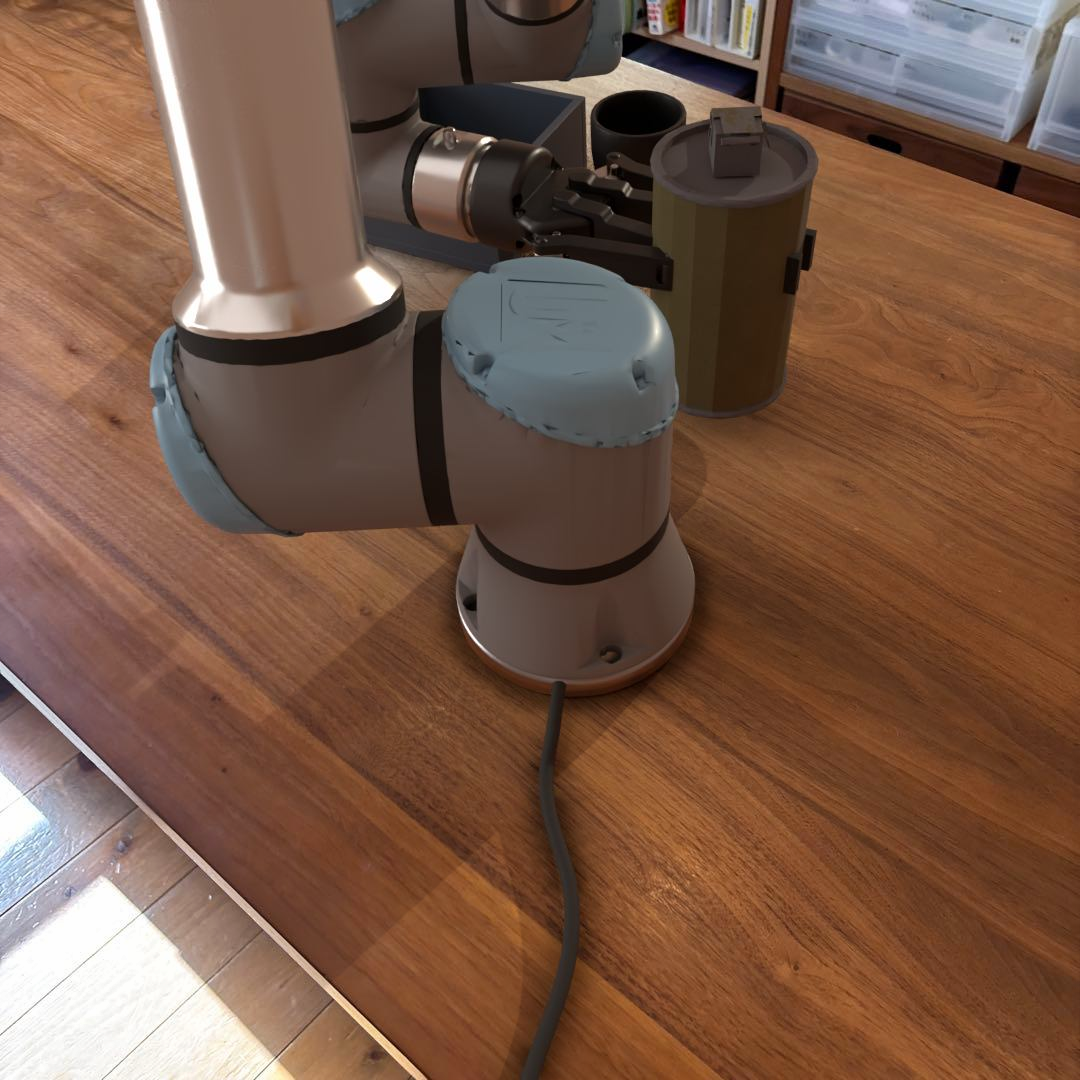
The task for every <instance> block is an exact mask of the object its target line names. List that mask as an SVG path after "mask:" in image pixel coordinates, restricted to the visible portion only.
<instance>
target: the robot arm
mask: <svg viewBox="0 0 1080 1080" xmlns="http://www.w3.org/2000/svg"><path fill="white" fill-rule="evenodd" d="M132 2H133V7H134V10H135V15H136V16H135V17H136V21H137V24H138V28H139V33H140V37H141V42H142V47H143V51H144V55H145V59H146V64H147V68H148V72H149V73H148V74H149V76H150V81H151V86H152V90H153V94H154V99H155V102H156V107H157V108H156V109H157V111H158V116H159V120H160V125H161V129H162V133H163V138H164V143H165V147H166V150H167V151H166V152H167V155H168V160H169V164H170V168H171V172H172V177H173V181H174V186H175V191H176V194H177V199H178V203H179V204H178V205H179V207H180V212H181V217H182V221H183V225H184V229H185V234H186V238H187V242H188V247H189V251H190V255H191V260H192V265H193V267H192V268H193V269H192V273H191V274H190V275H189V277H188V278H187V280H186V281H185V283H184V284H183V286H181V289H180V290H179V292H177V294H176V295H175V297H174V299H172V302H171V312H172V313H171V314H172V317H173V322H174V324H173V325H172V326H170V327H168V328H167V329H165V330H164V331H163V332H162V334H161V335H160V337H159V338H158V340H157V341H156V343H155V345H154V347H153V350H152V353H151V359H150V365H149V390H150V392H151V394H152V396H153V397H154V402H155V405H154V406H153V408H152V409H151V413H152V414H151V415H152V420H153V426H154V430H155V433H156V437H157V441H158V445H159V448H160V451H161V453H162V456H163V460H164V462H165V465H166V467H167V469H168V472H169V474H170V475H171V478H172V480H173V482H174V484H175V486H176V488H177V490H178V492H179V494H180V495H181V496H182V498H183V499H184V501H185V502H186V504H187V505H188V506H189V507H190V508H191V509H192V511H193V512H194V513H195V514H196V516H198V517H199V518H200V519H202V520H203V521H204V522H206V523H207V524H209V525H211V526H213V527H215V528H218V529H219V530H221V531H222V532H225V533H230V534H236V535H271V534H272V535H276V536H279V537H282V538H297V537H303V536H304V535H305V534H312V533H333V532H351V531H354V532H355V531H371V530H372V531H373V530H390V529H411V528H413V529H414V528H430V527H432V528H434V527H449V526H466V525H467V526H468V525H469V526H470V525H472V527H471V529H470V532H469V536H468V539H467V542H466V545H465V548H464V551H463V555H462V558H461V561H460V563H459V567H458V571H457V575H456V582H455V599H456V605H457V611H458V616H459V621H460V622H459V623H460V626H461V628H462V632H463V634H464V637H465V639H466V641H467V643H468V645H469V647H470V648H471V649H472V651H473V652H474V653H475V655H476V656H477V657H478V658H479V659H480V660H481V662H482V663H483V664H484V665H486V666H487V668H489V669H491V671H492V672H493V673H496V675H498V676H500V677H501V678H503V679H504V680H506V681H508V682H510V683H512V684H514V685H517V686H518V687H520V688H523V689H526V690H529V691H532V692H536V693H540V694H544V695H549V696H550V699H549V700H550V701H549V706H548V712H547V720H546V726H545V733H544V739H543V744H542V748H541V753H540V760H539V767H538V768H539V769H538V794H539V801H540V809H541V814H542V819H543V823H544V827H545V830H546V834H547V838H548V841H549V844H550V847H551V851H552V853H553V857H554V860H555V864H556V867H557V871H558V874H559V879H560V883H561V889H562V897H563V909H564V913H563V915H564V916H563V918H564V919H563V923H564V924H563V935H562V943H561V950H560V956H559V960H558V961H559V962H558V966H557V970H556V974H555V977H554V981H553V985H552V988H551V991H550V995H549V998H548V1001H547V1002H546V1003H547V1004H546V1006H545V1008H544V1012H543V1014H542V1017H541V1020H540V1022H539V1025H538V1027H537V1028H538V1029H537V1030H536V1033H535V1036H534V1039H533V1040H532V1044H531V1046H530V1050H529V1052H528V1055H527V1058H526V1061H525V1063H524V1066H523V1069H522V1072H521V1075H520V1079H519V1080H540V1076H541V1073H542V1070H543V1067H544V1065H545V1061H546V1059H547V1055H548V1053H549V1050H550V1047H551V1044H552V1042H553V1039H554V1036H555V1034H556V1031H557V1028H558V1025H559V1023H560V1020H561V1017H562V1015H563V1011H564V1008H565V1005H566V1003H567V999H568V997H569V992H570V988H571V985H572V983H573V978H574V973H575V968H576V965H577V964H576V963H577V957H578V953H579V944H580V932H581V901H580V894H579V887H578V882H577V877H576V873H575V872H576V871H575V869H574V865H573V862H572V858H571V855H570V852H569V849H568V846H567V844H566V840H565V837H564V834H563V831H562V828H561V823H560V819H559V815H558V811H557V805H556V800H555V788H554V771H555V761H556V756H557V752H558V747H559V741H560V735H561V727H562V719H563V713H564V705H565V698H566V697H568V698H570V697H571V698H573V697H575V698H576V697H590V696H591V697H592V696H598V695H604V694H608V693H612V692H616V691H619V690H622V689H625V688H628V687H630V686H632V685H634V684H636V683H638V682H641V681H642V680H644V679H646V678H648V677H649V676H651V675H652V674H653V673H655V672H656V671H658V670H659V669H660V668H661V667H663V666H664V665H665V664H666V663H667V662H668V661H669V660H670V659H671V658H672V657H673V656H674V655H675V654H676V652H677V651H678V649H679V648H680V647H681V646H682V643H683V642H684V640H685V638H686V637H687V634H688V631H689V629H690V626H691V624H692V619H693V615H694V609H695V608H694V607H695V595H696V578H695V571H694V566H693V563H692V560H691V558H690V555H689V553H688V550H687V549H686V546H685V545H684V543H683V541H682V539H681V537H680V533H679V531H678V528H677V526H676V524H675V520H674V519H673V517H672V514H671V511H670V507H671V506H670V505H671V488H672V459H673V458H672V457H673V437H674V435H673V433H674V420H675V418H676V414H677V411H678V410H677V409H678V403H679V389H678V384H677V380H676V377H675V351H674V343H673V338H672V334H671V331H670V328H669V325H668V323H667V321H666V319H665V317H664V316H663V314H662V312H661V311H660V310H659V308H658V307H657V306H656V304H655V303H654V302H653V301H652V300H651V299H650V296H649V295H647V293H646V292H644V291H643V290H642V289H641V288H645V289H650V288H651V289H657V290H664V291H672V284H673V259H671V258H670V256H669V254H668V253H667V254H666V253H664V252H663V251H662V250H661V249H660V248H659V247H653V235H652V209H653V173H652V172H651V167H650V166H646V165H643V164H640V163H636V162H634V161H633V160H631V159H629V158H628V157H626V156H625V155H623V154H621V153H619V152H612V153H609V154H607V156H606V159H607V165H606V166H604V167H601V168H599V169H597V170H592V169H590V168H588V167H587V168H584V167H577V168H566V167H562V166H560V165H559V164H558V163H557V161H556V160H555V159H554V157H553V156H552V154H551V153H550V152H549V151H548V150H547V149H546V148H544V147H542V146H537V145H532V144H527V143H523V142H518V141H513V140H508V139H501V140H499V141H498V140H497V139H495V138H494V137H490V136H485V135H480V134H474V133H469V132H464V131H459V130H455V128H453V127H444V126H440V125H435V124H431V123H428V122H424V121H422V120H421V118H420V113H419V94H418V90H417V88H428V87H443V86H458V85H473V84H490V83H530V82H553V81H558V82H561V83H567V82H570V81H572V80H575V79H582V78H591V77H599V76H606V75H609V74H611V73H613V72H614V71H615V70H616V69H617V68H618V67H619V65H620V63H621V60H622V55H623V54H622V53H623V28H624V27H623V22H624V21H623V0H132ZM363 216H366V217H371V218H376V219H381V220H386V221H391V222H396V223H401V224H406V225H411V226H415V227H417V228H418V229H423V230H426V231H428V232H432V233H436V234H439V235H443V236H447V237H451V238H455V239H459V240H462V241H466V242H470V243H477V242H481V243H482V244H483V245H486V246H490V247H494V248H498V249H502V250H506V251H510V252H514V253H518V254H521V255H526V254H529V253H531V252H532V254H533V256H526V257H518V258H517V259H512V260H507V261H503V262H499V263H497V264H494V265H493V266H491V268H490V270H489V274H486V273H483V272H476V271H475V272H474V273H472V274H471V275H469V276H467V277H466V278H465V280H463V281H462V282H461V283H460V284H459V285H457V287H456V288H455V289H454V290H453V292H452V294H451V296H450V298H449V299H448V301H447V305H446V307H445V308H444V309H433V310H432V309H431V310H408V309H407V305H406V299H405V297H406V296H405V291H404V283H403V278H402V275H401V273H400V271H399V270H398V269H397V268H396V267H395V266H393V265H392V264H391V263H389V262H388V261H387V260H385V259H384V258H383V257H381V256H380V255H379V254H378V253H377V252H375V251H374V250H373V249H372V248H370V246H369V244H368V243H367V240H366V233H365V226H364V218H363ZM817 232H818V230H817V229H813V228H809V227H806V233H805V238H804V245H803V252H802V253H798V252H793V253H792V254H791V255H789V256H788V257H787V262H786V270H785V278H784V286H783V293H787V294H791V295H795V294H796V295H797V293H798V291H799V285H800V278H801V271H804V272H809V271H810V269H811V268H812V266H813V260H814V252H815V248H816V240H817V234H818V233H817ZM658 265H661V274H659V273H657V266H658ZM796 292H797V293H796Z"/></svg>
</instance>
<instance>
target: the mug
mask: <svg viewBox="0 0 1080 1080" xmlns="http://www.w3.org/2000/svg"><path fill="white" fill-rule="evenodd" d="M687 115H688V114H687V109H686V106H685V105H684V103H683V102H681V100H679V99H678V98H676V97H675V96H672V95H670V94H669V93H666V92H661V91H657V90H649V89H631V90H625V91H624V90H623V91H620V92H616V93H612V94H610V95H607V96H605V97H604V98H601V99H600V100H599V101H598V102H597V103H595V104H594V106H593V107H592V109H591V111H590V116H589V122H590V123H589V125H590V128H589V129H590V151H591V152H590V153H591V160H592V165H593V169H594V170H597V169H599V168H601V167H604V166H606V165H607V159H606V156H607V154H609V153H612V152H619V153H621V154H623V155H625V156H626V157H628V158H629V159H631V160H633V161H634V162H636V163H640V164H643V165H646V166H650V167H651V163H650V159H651V156H652V152H653V149H654V148H655V146H656V144H657V143H658V142H659V141H660V140H661V139H662V138H663V137H664V136H665V135H666V134H668V133H670V132H672V131H674V130H676V129H678V128H680V127H682V126H684V125H687ZM594 170H593V171H594Z"/></svg>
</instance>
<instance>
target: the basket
mask: <svg viewBox="0 0 1080 1080" xmlns="http://www.w3.org/2000/svg"><path fill="white" fill-rule="evenodd" d="M417 90H418V94H419V113H420V118H421V120H422V121H424V122H428V123H431V124H435V125H440V126H444V127H453V128H455V130H459V131H464V132H469V133H474V134H480V135H485V136H490V137H494V138H495V139H497V140H498V141H499V140H501V139H508V140H513V141H518V142H523V143H527V144H532V145H537V146H542V147H544V148H546V149H547V150H548V151H549V152H550V153H551V154H552V156H553V157H554V159H555V160H556V161H557V163H558V164H559V165H560V166H562V167H566V168H577V167H584V168H588V153H587V152H588V148H587V147H588V146H587V145H588V143H587V141H588V140H587V107H586V106H587V105H586V96H584V95H579V94H575V93H574V94H573V93H570V92H569V93H568V92H563V91H558V90H552V89H547V88H542V87H537V86H531V85H527V84H521V83H517V82H511V83H490V84H473V85H458V86H443V87H428V88H417ZM363 218H364V226H365V233H366V240H367V245H373V246H377V247H380V248H384V249H388V250H391V251H392V250H393V251H395V252H399V253H404V254H407V255H412V256H415V257H419V258H422V259H426V260H431V261H434V262H438V263H442V264H444V265H445V264H446V265H449V266H454V267H458V268H462V269H464V270H465V269H466V270H469V271H473V272H475V273H476V272H483V273H486V274H489V270H490V268H491V266H493V265H494V264H497V263H499V262H503V261H507V260H512V259H518V258H520V256H521V255H522V254H518V253H514V252H510V251H506V250H502V249H498V248H494V247H490V246H486V245H483V244H482V243H481V242H477V243H470V242H466V241H462V240H459V239H455V238H451V237H447V236H443V235H439V234H436V233H432V232H428V231H426V230H423V229H418V228H417V227H415V226H411V225H406V224H401V223H396V222H391V221H386V220H381V219H376V218H371V217H366V216H363Z"/></svg>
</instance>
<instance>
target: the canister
mask: <svg viewBox="0 0 1080 1080" xmlns="http://www.w3.org/2000/svg"><path fill="white" fill-rule="evenodd" d="M819 162H820V161H819V157H818V154H817V152H816V149H815V146H813V144H812V143H811V142H810V141H809V140H808V139H807V138H805V137H804V136H803V135H801V134H799V133H798V132H796V131H795V130H793V129H792V128H790V127H788V126H785V125H781V124H777V123H773V122H770V121H766V120H763V113H762V109H761V106H760V105H756V106H734V107H733V106H732V107H711V108H710V112H709V118H707V119H703V120H699V121H695V122H692V123H686V125H684V126H682V127H680V128H678V129H676V130H674V131H672V132H670V133H668V134H666V135H665V136H664V137H663V138H662V139H661V140H660V141H659V142H658V143H657V144H656V146H655V148H654V149H653V152H652V156H651V159H650V163H651V172H652V173H653V209H652V235H653V247H659V248H660V249H661V250H662V251H663V252H664V253H666V254H667V253H668V254H669V256H670V258H671V259H673V284H672V291H664V290H657V289H651V288H649V291H650V294H649V298H650V299H651V300H652V301H653V302H654V303H655V304H656V306H657V307H658V308H659V310H660V311H661V312H662V314H663V316H664V317H665V319H666V321H667V323H668V325H669V328H670V331H671V334H672V338H673V343H674V351H675V377H676V380H677V384H678V389H679V403H678V409H677V411H678V412H681V413H684V414H686V415H688V416H693V417H697V418H703V419H712V420H726V419H735V418H740V417H744V416H749V415H753V414H755V413H758V412H761V411H762V410H764V409H765V408H767V407H768V406H770V405H771V404H772V403H774V402H775V401H776V400H777V399H778V398H779V396H780V395H781V394H782V393H783V391H784V390H785V387H786V385H787V381H788V376H789V375H788V373H789V372H788V365H787V359H788V354H789V353H788V352H789V348H790V347H789V346H790V339H791V332H792V326H793V319H794V312H795V305H796V299H797V293H798V291H797V292H796V294H795V295H791V294H787V293H783V286H784V278H785V270H786V262H787V257H788V256H789V255H791V254H792V253H793V252H798V253H802V252H803V245H804V238H805V233H806V228H807V226H808V218H809V212H810V205H811V198H812V192H813V186H814V179H815V177H816V175H817V172H818V171H819V170H818V169H819ZM657 273H659V274H661V265H658V266H657Z"/></svg>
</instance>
